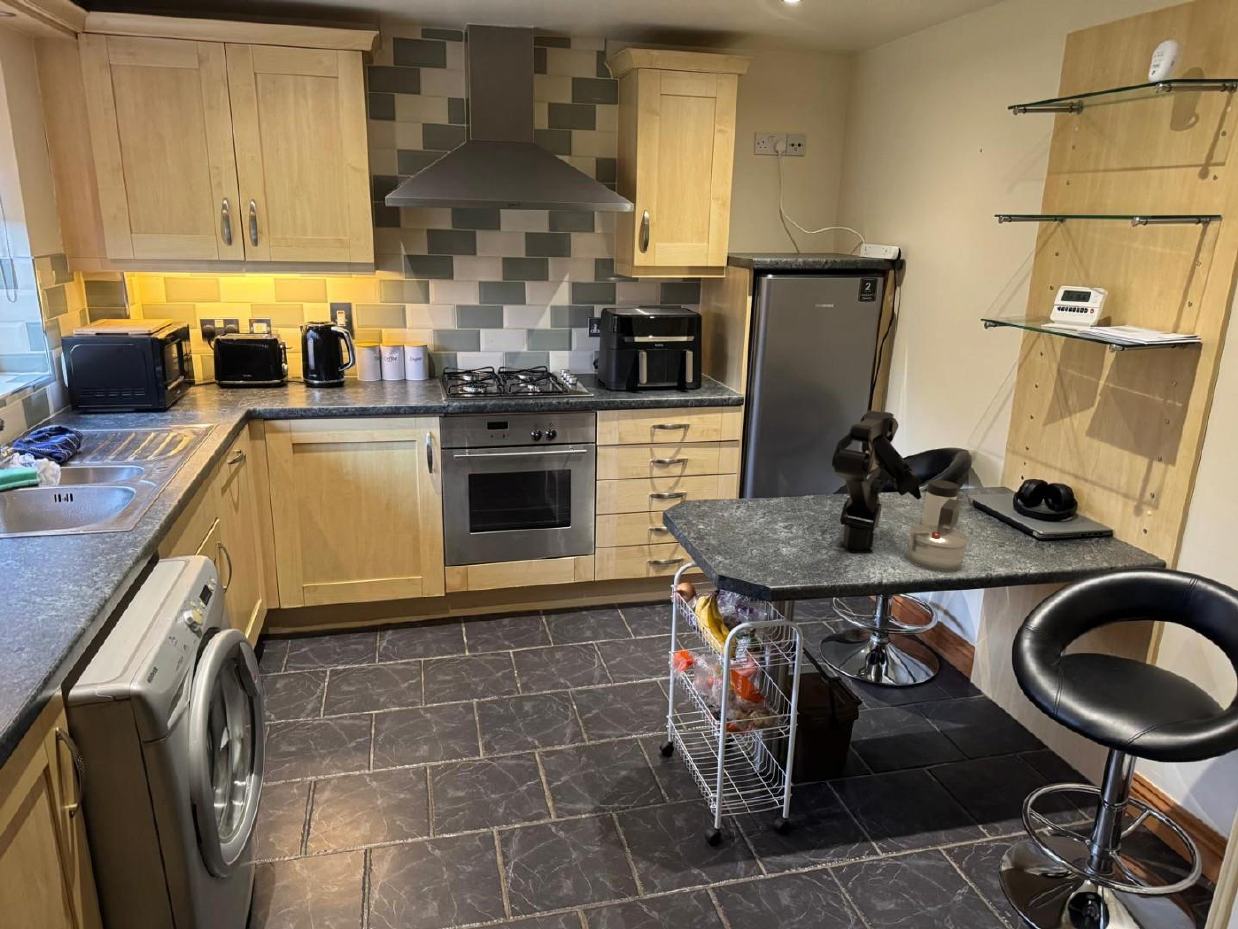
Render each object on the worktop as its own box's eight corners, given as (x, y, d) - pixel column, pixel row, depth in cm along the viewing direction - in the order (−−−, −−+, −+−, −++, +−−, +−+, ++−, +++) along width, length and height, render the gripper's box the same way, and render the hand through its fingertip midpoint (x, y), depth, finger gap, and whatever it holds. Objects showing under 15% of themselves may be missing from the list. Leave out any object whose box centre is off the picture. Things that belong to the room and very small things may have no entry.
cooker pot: (956, 576, 201) (960, 552, 199) (901, 562, 207) (905, 539, 205) (970, 552, 217) (975, 530, 215) (919, 540, 223) (922, 519, 221)
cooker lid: (961, 552, 199) (965, 527, 197) (903, 538, 205) (907, 515, 204) (978, 528, 216) (982, 505, 215) (924, 516, 223) (928, 494, 221)
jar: (944, 519, 241) (951, 480, 238) (958, 530, 233) (965, 488, 230) (915, 519, 240) (921, 479, 237) (927, 529, 232) (934, 488, 229)
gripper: (851, 461, 226) (885, 504, 229) (865, 483, 209) (901, 529, 211) (886, 436, 223) (920, 480, 226) (903, 456, 206) (939, 503, 209)
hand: (919, 498), depth 218 cm, fingers closed
